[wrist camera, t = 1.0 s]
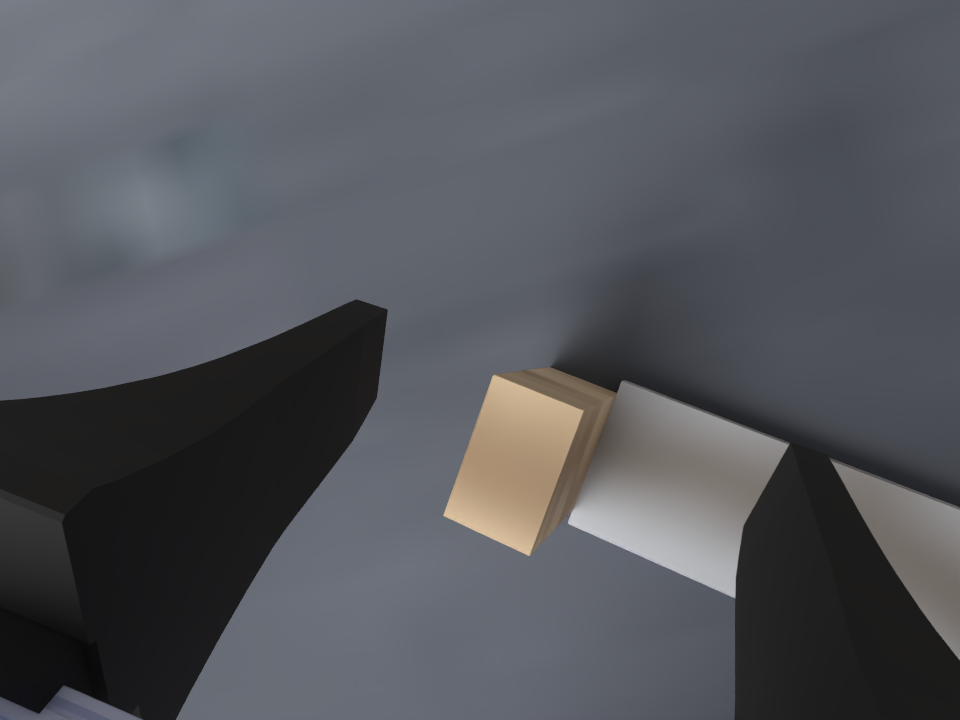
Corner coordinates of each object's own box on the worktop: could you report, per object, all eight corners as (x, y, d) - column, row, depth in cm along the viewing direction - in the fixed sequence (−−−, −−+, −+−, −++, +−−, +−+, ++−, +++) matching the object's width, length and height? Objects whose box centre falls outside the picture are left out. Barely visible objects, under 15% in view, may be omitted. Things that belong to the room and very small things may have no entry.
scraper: (1210, 801, 21) (1418, 999, 14) (505, 488, 26) (437, 532, 20) (1297, 635, 20) (1553, 767, 14) (554, 353, 26) (499, 356, 20)
